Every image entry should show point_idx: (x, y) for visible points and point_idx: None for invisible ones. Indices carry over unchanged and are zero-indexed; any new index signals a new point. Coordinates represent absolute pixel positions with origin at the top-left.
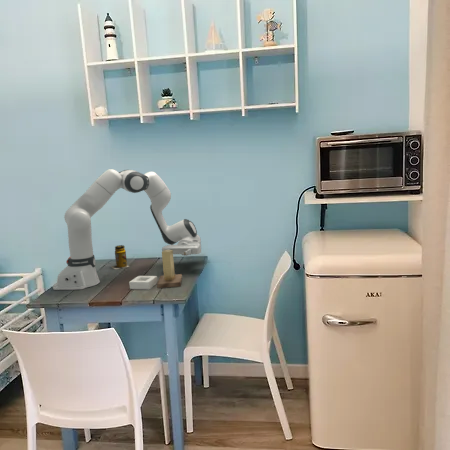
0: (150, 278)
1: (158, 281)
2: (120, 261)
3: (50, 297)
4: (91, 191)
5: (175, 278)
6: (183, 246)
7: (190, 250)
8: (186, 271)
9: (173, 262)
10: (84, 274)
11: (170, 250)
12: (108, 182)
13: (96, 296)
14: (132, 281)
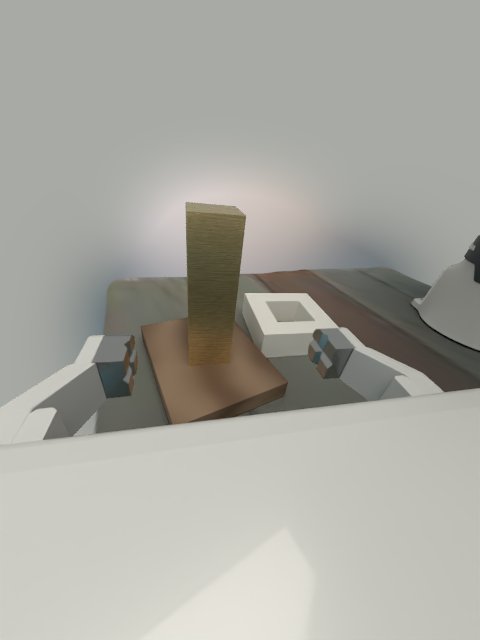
0: (267, 315)
1: (236, 326)
2: None
3: (401, 279)
4: None
5: (181, 358)
6: (239, 574)
7: (9, 418)
8: None
9: (188, 294)
10: (442, 278)
11: (195, 208)
12: None
13: (327, 283)
14: (301, 295)
